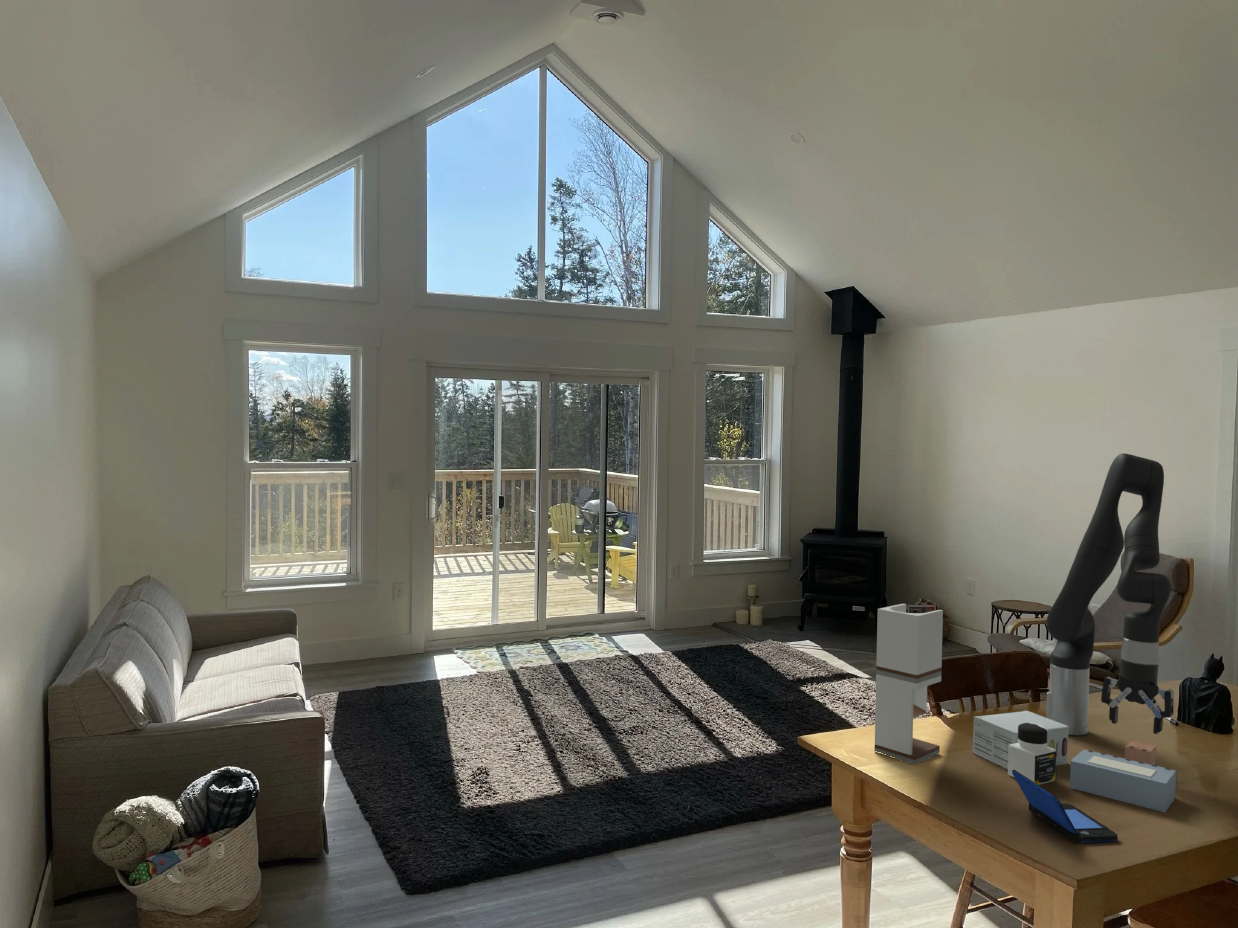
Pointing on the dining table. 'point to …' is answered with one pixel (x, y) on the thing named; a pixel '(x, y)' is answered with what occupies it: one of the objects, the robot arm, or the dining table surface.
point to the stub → (1141, 752)
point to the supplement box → (1014, 735)
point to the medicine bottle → (1032, 754)
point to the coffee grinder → (905, 679)
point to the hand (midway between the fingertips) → (1135, 727)
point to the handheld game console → (1063, 814)
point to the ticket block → (1123, 780)
